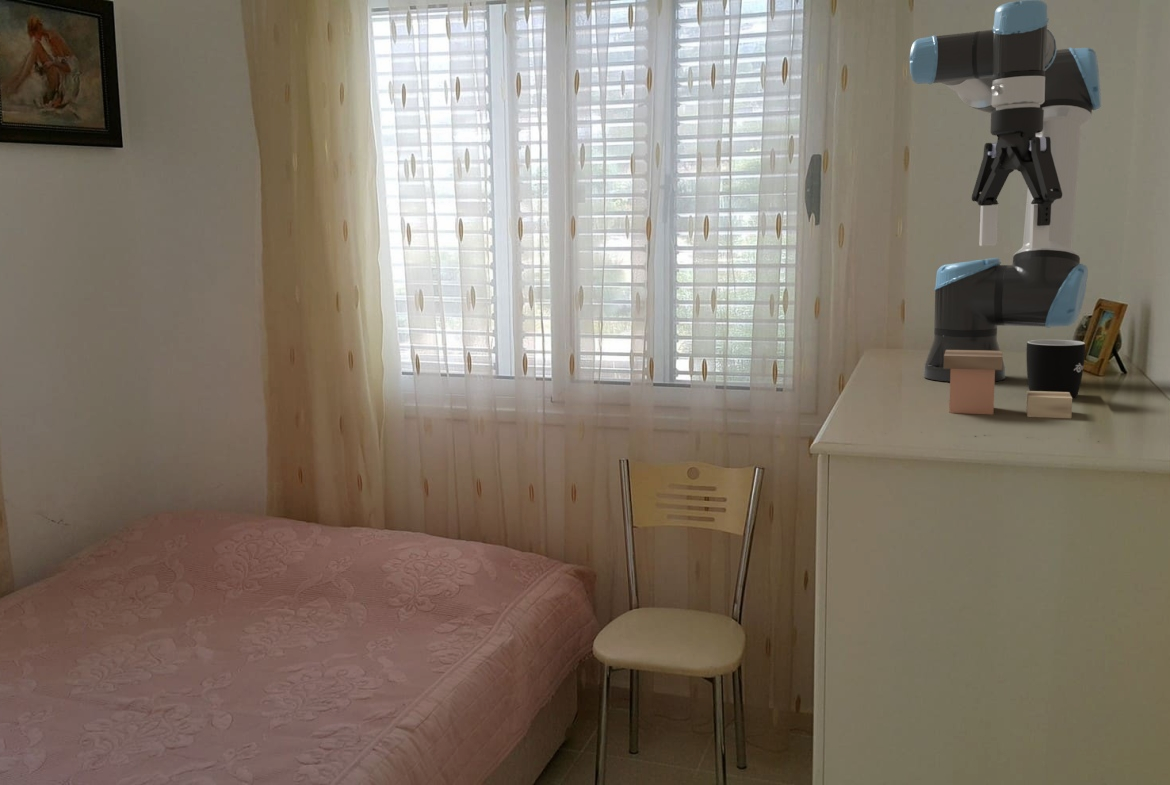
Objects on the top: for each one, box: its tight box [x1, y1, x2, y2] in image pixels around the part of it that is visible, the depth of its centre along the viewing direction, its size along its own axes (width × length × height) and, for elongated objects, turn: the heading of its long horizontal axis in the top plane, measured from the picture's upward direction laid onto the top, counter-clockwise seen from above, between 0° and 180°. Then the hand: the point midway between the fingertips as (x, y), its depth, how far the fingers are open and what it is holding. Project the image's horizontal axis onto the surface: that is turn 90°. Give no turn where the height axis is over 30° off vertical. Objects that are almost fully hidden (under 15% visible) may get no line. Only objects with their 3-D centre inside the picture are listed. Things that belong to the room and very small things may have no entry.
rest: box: [1025, 390, 1073, 419], centre depth 155 cm, size 6×6×4 cm
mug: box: [1026, 339, 1086, 400], centre depth 172 cm, size 12×9×10 cm
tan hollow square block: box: [948, 369, 996, 415], centre depth 160 cm, size 6×6×8 cm
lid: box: [944, 350, 1004, 370], centre depth 159 cm, size 8×8×2 cm
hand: (1012, 247), depth 160 cm, fingers open, 13 cm apart
